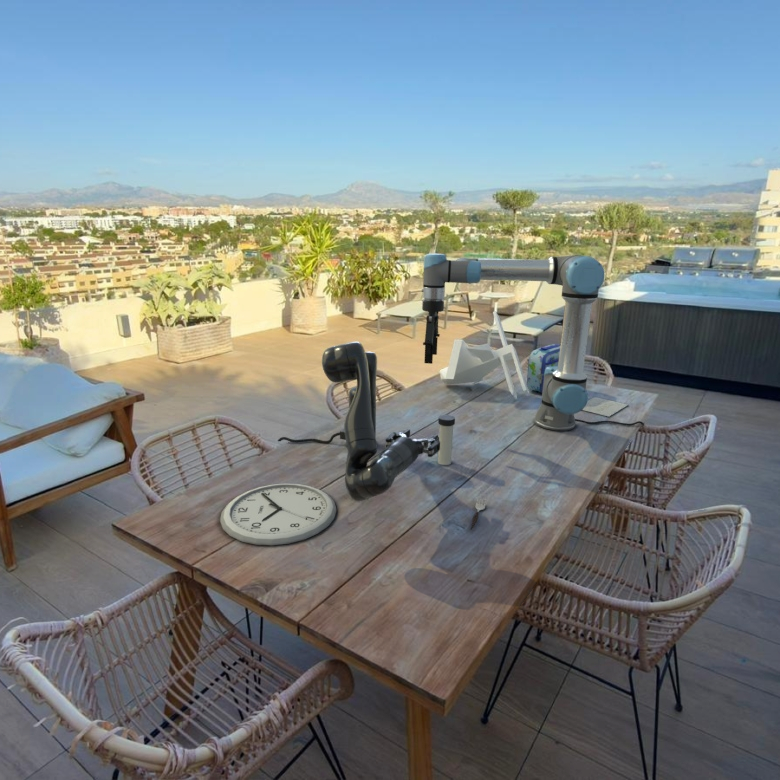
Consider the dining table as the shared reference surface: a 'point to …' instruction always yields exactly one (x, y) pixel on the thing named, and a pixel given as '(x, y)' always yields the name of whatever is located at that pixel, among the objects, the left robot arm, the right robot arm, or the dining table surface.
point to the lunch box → (541, 365)
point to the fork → (478, 507)
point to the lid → (446, 420)
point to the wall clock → (278, 514)
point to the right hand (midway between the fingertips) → (430, 358)
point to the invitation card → (603, 406)
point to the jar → (445, 445)
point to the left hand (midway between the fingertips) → (422, 435)
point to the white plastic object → (482, 362)
